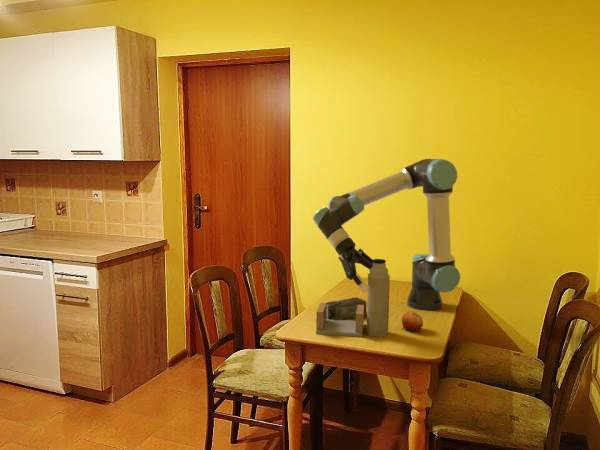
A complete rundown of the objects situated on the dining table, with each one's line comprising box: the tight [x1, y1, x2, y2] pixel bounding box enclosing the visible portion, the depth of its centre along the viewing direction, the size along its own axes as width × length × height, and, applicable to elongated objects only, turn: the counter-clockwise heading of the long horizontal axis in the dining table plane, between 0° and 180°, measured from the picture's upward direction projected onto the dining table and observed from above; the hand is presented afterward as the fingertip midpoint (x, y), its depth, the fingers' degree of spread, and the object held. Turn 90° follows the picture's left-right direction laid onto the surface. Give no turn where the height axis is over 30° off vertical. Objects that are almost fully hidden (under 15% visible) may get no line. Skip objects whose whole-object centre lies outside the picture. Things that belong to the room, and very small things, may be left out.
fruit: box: [401, 310, 424, 333], centre depth 196 cm, size 8×8×8 cm
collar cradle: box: [315, 302, 365, 338], centre depth 197 cm, size 17×14×8 cm
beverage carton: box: [318, 297, 367, 320], centre depth 213 cm, size 8×19×7 cm, turn 118°
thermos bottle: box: [366, 258, 391, 338], centre depth 191 cm, size 8×8×28 cm
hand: (375, 287), depth 190 cm, fingers open, 13 cm apart
